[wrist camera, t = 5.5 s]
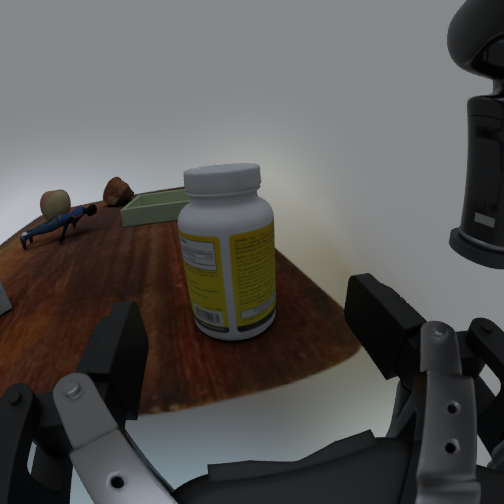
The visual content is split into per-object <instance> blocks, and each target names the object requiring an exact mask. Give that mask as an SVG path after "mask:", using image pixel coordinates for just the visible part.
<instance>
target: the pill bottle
mask: <svg viewBox="0 0 504 504" xmlns="http://www.w3.org/2000/svg"><path fill="white" fill-rule="evenodd" d="M260 183H261V177H260V167H259V165H257V164H249V163H246V164H245V163H243V164H242V163H241V164H224V165H214V166H206V167H199V168H194V169H190V170H187V171H185V172H184V185H185V190H186V195H188V196H190V203H189V204H187V205H186V206H185V207H184V208H183V209H182V210H181V212H180V214H179V216H178V230H179V237H180V243H181V249H182V255H183V261H184V267H185V272H186V278H187V283H188V289H189V294H190V299H191V305H192V309H193V314H194V318H195V322H196V324H197V326H198V327H199V329H200V330H201V331H202V332H204V333H205V334H207V335H209V336H211V337H213V338H217V339H221V340H243V339H248V338H251V337H254V336H256V335H258V334H260V333H262V332H263V331H264V330H266V329H267V328H268V327H269V326H270V324H271V323H272V322H273V320H274V317H275V312H276V286H275V245H274V216H273V211H272V208H271V206H270V205H269V203H268V202H267V201H266V200H264V199H262V198H261V197H258V195H257V190H258V189H259V188H260V185H259V184H260Z"/></svg>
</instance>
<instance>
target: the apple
mask: <svg viewBox="0 0 504 504" xmlns="http://www.w3.org/2000/svg"><path fill="white" fill-rule="evenodd" d="M40 208H41V212H42V214H43V216H44V217H45V219H46V220H48V221H52V220H53V219H55V218H56V217H58V216H59V215H61V214H68V213H69V211H70V208H71V203H70V197H69V195H68V193H67V192H66V191H64V190H56V191H48V192H45V193H44V194H43V195H42V198H41V201H40Z"/></svg>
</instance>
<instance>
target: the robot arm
mask: <svg viewBox="0 0 504 504" xmlns="http://www.w3.org/2000/svg"><path fill="white" fill-rule="evenodd" d="M447 46H448V50H449V54H450V56H451V58H452V59H453V61H454V62H455V63H456V64H457V65H458V66H459V67H460V68H462V69H463V70H466V71H467V72H470V73H472V74H475V75H479V76H482V77H485V78H488V79H491V80H493V93H492V94H490V95H481V96H475V97H472V98H470V99H469V100H468V102H467V114H468V115H467V116H468V159H467V176H466V187H465V197H464V204H463V212H462V219H461V225H460V227H459V232H458V234H459V236H460V237H461V238H462V239H463V240H464V241H466V242H467V243H469V244H471V245H473V246H475V247H477V248H480V249H482V250H485V251H489V252H493V253H498V254H504V0H466V2H465V3H464V4H463V5H462V7H461V8H460V9H459V10H458V11H457V13H456V14H455V15H454V17H453V19H452V21H451V23H450V25H449V29H448V34H447ZM344 315H345V320H346V322H347V324H348V326H349V327H350V329H351V330H352V331H353V333H354V334H355V336H356V337H357V338H358V340H359V341H360V343H361V344H362V346H363V347H364V348H365V350H366V351H367V353H368V354H369V355H370V357H371V358H372V360H373V361H374V363H375V364H376V366H377V367H378V369H379V370H380V372H381V373H382V375H383V376H384V377H385V379H386V380H388V379H390V378H393V377H396V376H398V377H399V378H400V381H399V383H398V386H397V392H396V398H395V404H394V410H393V415H392V420H391V424H390V428H389V430H388V432H387V434H386V437H378V438H377V437H376V438H375V437H374V435H373V433H372V431H371V430H367V431H364V432H362V433H359V434H356V435H353V436H350V437H347V438H344V439H342V440H338V441H335V442H333V443H331V444H330V445H328V446H326V447H324V448H323V449H320V450H319V451H317V452H315V453H313V454H311V455H309V456H307V457H305V458H303V459H301V460H299V461H293V462H274V461H253V460H249V461H242V462H233V463H222V464H208V465H207V466H208V474H206V475H203V476H200V477H197V478H195V479H192V480H190V481H188V482H186V483H184V484H183V485H181V486H180V487H178V488H177V489H176V490H174V489H173V488H172V487H171V486H170V484H169V483H167V481H166V480H165V479H164V478H163V477H162V476H161V475H160V474H159V473H158V471H157V470H156V469H155V468H154V467H153V466H152V464H151V463H150V462H149V461H148V459H147V458H146V457H145V456H144V454H143V453H142V452H141V450H140V449H139V448H138V446H137V445H136V444H135V442H134V441H133V440H132V438H131V437H130V435H129V434H128V432H127V431H126V430H125V422H126V420H137V418H138V410H139V403H140V396H141V390H142V384H143V378H144V372H145V366H146V361H147V356H148V350H149V343H148V336H147V333H146V330H145V327H144V324H143V320H142V317H141V314H140V311H139V308H138V305H137V303H136V302H135V301H130V302H117V303H115V304H114V307H113V309H112V311H111V313H110V315H109V316H106V317H104V318H103V319H102V320H101V321H100V322H99V323H98V324H97V325H96V326H95V328H94V330H93V332H92V335H91V336H92V337H90V339H89V341H88V345H87V346H86V348H85V350H84V353H83V355H82V357H81V360H80V362H79V365H78V367H77V369H76V372H75V373H72V374H69V375H66V376H65V377H63V378H62V379H60V380H59V381H58V383H57V384H56V386H55V387H54V390H53V392H47V393H42V394H36V395H35V394H34V392H33V391H32V390H31V388H30V387H29V386H28V385H26V384H24V383H18V384H14V385H12V386H11V387H9V388H8V389H7V390H6V391H5V393H4V394H3V396H2V398H1V401H0V504H70V490H71V478H72V470H73V466H74V468H75V469H76V471H77V474H78V475H79V477H80V479H81V481H82V483H83V485H84V486H85V488H86V490H87V492H88V494H89V495H90V497H91V499H92V500H93V502H94V503H95V504H504V332H503V331H502V330H501V329H500V328H499V327H498V326H497V325H496V324H495V323H494V322H492V321H491V320H489V319H486V318H475V319H473V320H472V322H471V324H470V327H469V329H468V331H460V332H455V331H454V329H453V328H452V327H450V326H449V325H447V324H445V323H443V322H439V321H429V322H427V321H426V320H425V319H424V318H423V317H422V316H421V315H420V314H419V313H418V312H417V311H416V310H415V309H414V308H413V307H411V306H410V305H409V304H408V303H406V301H405V300H404V299H403V298H402V297H400V295H399V294H397V292H395V291H394V290H393V289H392V288H390V287H388V286H386V285H384V284H382V283H380V282H379V281H377V280H376V279H375V278H374V277H373V276H372V275H371V274H369V273H366V274H360V275H354V276H351V277H350V278H349V281H348V288H347V296H346V302H345V308H344ZM485 364H487V365H488V367H489V368H490V369H491V370H492V371H493V372H494V374H495V375H496V376H497V377H498V378H499V380H500V383H501V389H500V392H499V393H498V395H497V396H496V397H495V395H494V394H493V393H492V392H491V390H490V389H489V387H488V386H487V385H486V384H485V382H484V381H483V380H482V379H481V377H480V376H479V374H480V372H481V371H482V369H483V367H484V366H485ZM477 434H478V436H479V437H480V439H481V441H482V442H483V444H484V445H485V447H486V449H487V451H488V452H489V454H490V456H491V458H492V460H491V461H490V462H489V463H488V465H487V467H484V466H480V465H477V464H476V457H477ZM32 442H34V443H35V444H36V445H37V447H36V451H35V456H34V460H33V466H32V471H31V475H30V473H29V471H28V468H27V462H28V456H29V452H30V448H31V444H32Z"/></svg>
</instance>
